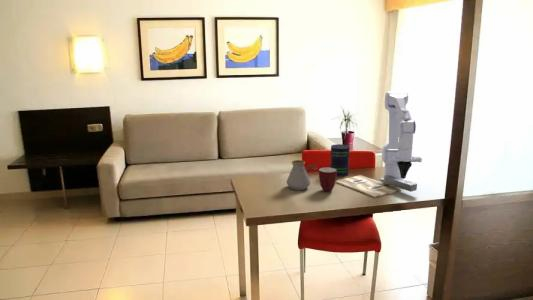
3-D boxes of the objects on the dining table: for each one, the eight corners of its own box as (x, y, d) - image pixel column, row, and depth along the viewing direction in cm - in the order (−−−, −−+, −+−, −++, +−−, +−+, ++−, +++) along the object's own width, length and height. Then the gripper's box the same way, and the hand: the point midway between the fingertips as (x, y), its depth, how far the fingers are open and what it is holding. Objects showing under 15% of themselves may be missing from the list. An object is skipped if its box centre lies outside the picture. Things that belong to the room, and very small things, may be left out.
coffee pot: (282, 185, 191) (282, 156, 187) (303, 182, 195) (303, 153, 192) (304, 200, 172) (304, 167, 168) (326, 195, 176) (327, 163, 173)
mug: (340, 194, 178) (340, 173, 175) (323, 195, 177) (323, 174, 174) (332, 187, 188) (333, 167, 186) (316, 188, 187) (316, 168, 184)
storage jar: (336, 177, 203) (336, 149, 199) (326, 172, 212) (327, 145, 208) (352, 175, 206) (353, 147, 203) (342, 170, 215) (343, 143, 211)
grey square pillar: (381, 184, 187) (382, 175, 186) (387, 183, 189) (387, 174, 188) (410, 194, 173) (411, 185, 172) (416, 192, 175) (417, 183, 174)
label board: (360, 176, 203) (360, 174, 203) (400, 190, 182) (400, 188, 181) (335, 182, 195) (335, 180, 194) (374, 197, 173) (374, 195, 173)
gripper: (391, 150, 166) (389, 180, 169) (425, 149, 166) (422, 180, 169) (386, 146, 173) (384, 175, 176) (419, 146, 173) (416, 175, 176)
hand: (403, 177), depth 173 cm, fingers closed
